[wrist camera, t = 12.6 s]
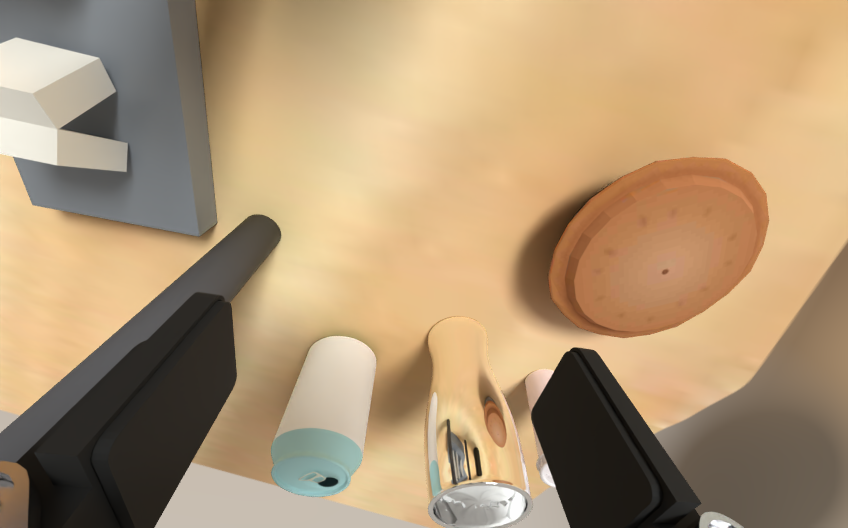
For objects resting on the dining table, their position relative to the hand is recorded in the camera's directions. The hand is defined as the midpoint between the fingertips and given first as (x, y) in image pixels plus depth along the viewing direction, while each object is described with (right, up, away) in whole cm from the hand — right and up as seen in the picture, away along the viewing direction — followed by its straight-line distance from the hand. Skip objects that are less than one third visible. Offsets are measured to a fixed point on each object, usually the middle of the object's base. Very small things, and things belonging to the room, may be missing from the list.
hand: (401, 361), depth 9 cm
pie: (+18, +5, +19) cm, 26 cm away
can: (-8, -7, +25) cm, 27 cm away
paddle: (-20, +10, +12) cm, 25 cm away
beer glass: (+4, -5, +24) cm, 25 cm away
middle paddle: (-19, +14, +9) cm, 26 cm away
